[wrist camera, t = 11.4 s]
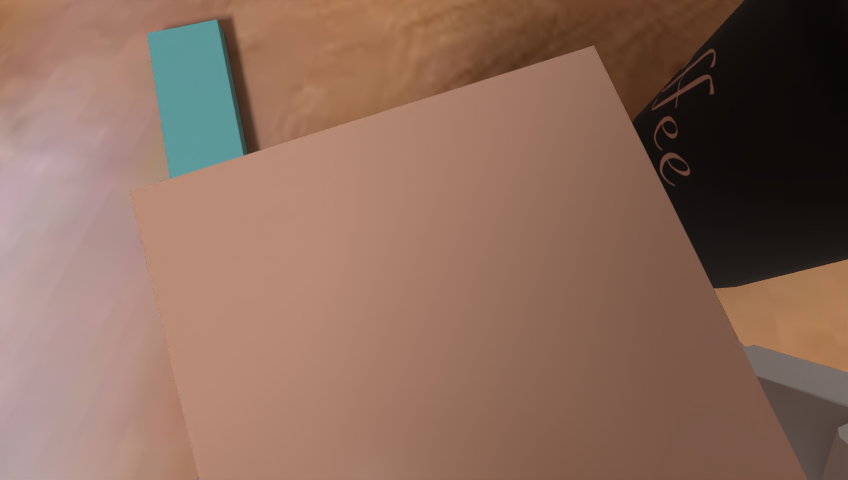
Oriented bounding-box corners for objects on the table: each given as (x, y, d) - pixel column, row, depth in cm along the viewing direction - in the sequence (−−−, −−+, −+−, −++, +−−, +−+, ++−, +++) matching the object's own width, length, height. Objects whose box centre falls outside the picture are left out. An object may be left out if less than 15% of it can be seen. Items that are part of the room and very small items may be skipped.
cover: (360, 512, 14) (271, 774, 5) (294, 295, 16) (129, 191, 6) (571, 428, 15) (831, 526, 6) (490, 226, 16) (593, 45, 7)
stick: (190, 236, 29) (178, 228, 27) (159, 50, 31) (147, 33, 30) (262, 219, 29) (254, 210, 28) (226, 36, 32) (216, 19, 30)
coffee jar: (664, 81, 32) (986, -273, 14) (814, 193, 30) (1378, -48, 13) (558, 207, 29) (782, -29, 12) (714, 333, 28) (1228, 275, 11)
